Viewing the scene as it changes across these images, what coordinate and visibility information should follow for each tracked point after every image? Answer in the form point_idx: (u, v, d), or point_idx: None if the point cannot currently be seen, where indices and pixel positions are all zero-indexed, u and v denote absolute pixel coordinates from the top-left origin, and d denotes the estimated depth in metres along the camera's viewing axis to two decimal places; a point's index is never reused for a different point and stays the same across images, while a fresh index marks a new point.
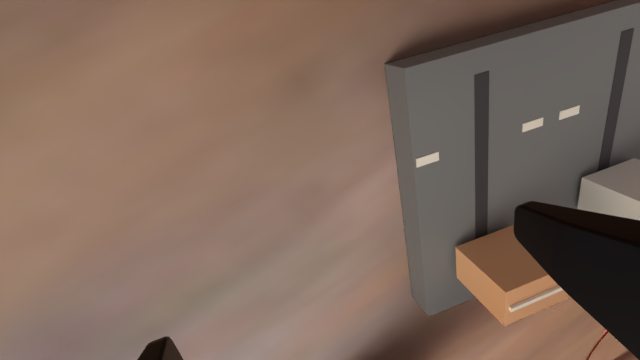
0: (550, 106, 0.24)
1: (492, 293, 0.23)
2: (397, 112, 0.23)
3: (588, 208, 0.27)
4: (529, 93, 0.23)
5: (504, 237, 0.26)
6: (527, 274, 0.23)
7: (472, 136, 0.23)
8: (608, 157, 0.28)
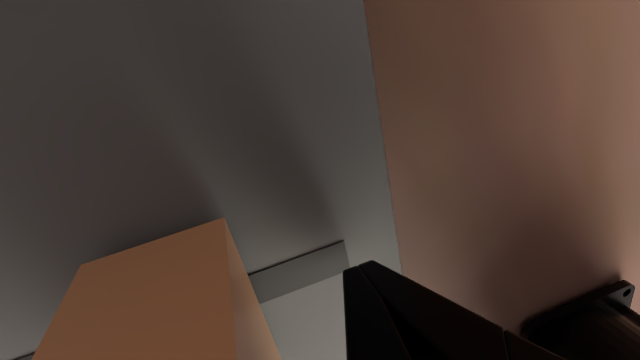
0: None
1: None
2: None
3: None
4: None
5: None
6: None
7: None
8: None
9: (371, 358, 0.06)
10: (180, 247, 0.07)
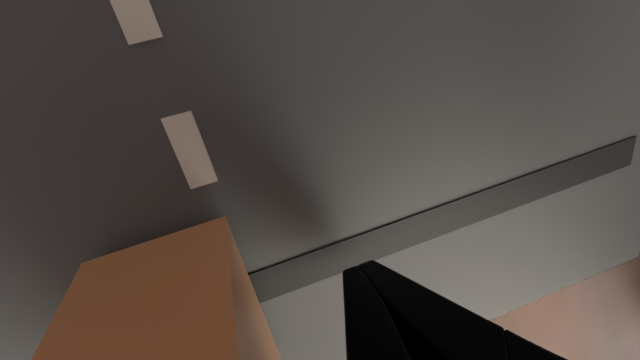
0: (117, 100, 0.07)
1: None
2: None
3: None
4: (89, 201, 0.07)
5: None
6: None
7: None
8: None
9: (371, 358, 0.06)
10: (181, 246, 0.07)
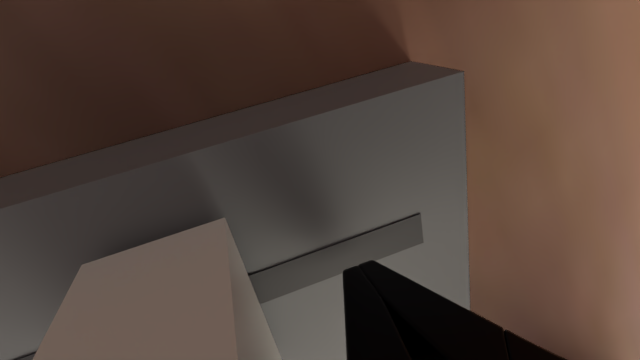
0: None
1: None
2: None
3: None
4: None
5: None
6: None
7: None
8: None
9: (371, 358, 0.06)
10: None
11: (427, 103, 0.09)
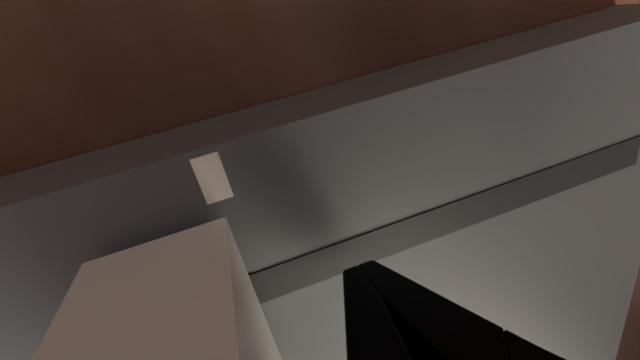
0: None
1: None
2: None
3: None
4: None
5: None
6: None
7: None
8: (422, 218, 0.10)
9: (371, 358, 0.06)
10: None
11: None
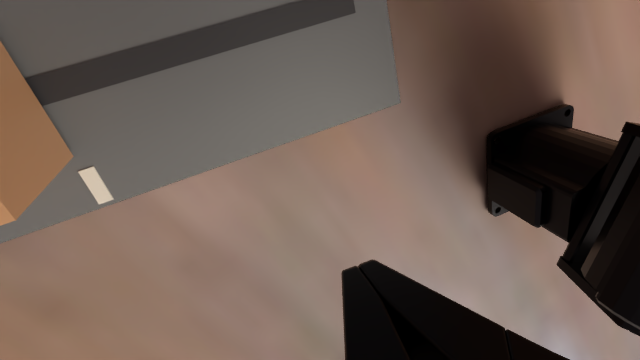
0: None
1: None
2: None
3: None
4: None
5: None
6: None
7: None
8: None
9: (369, 358, 0.06)
10: None
11: None
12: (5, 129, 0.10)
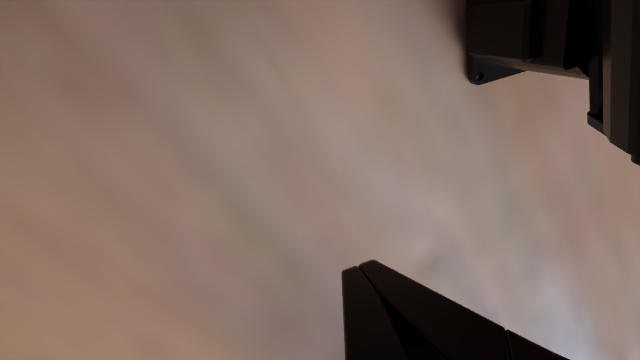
0: None
1: None
2: None
3: None
4: None
5: None
6: None
7: None
8: None
9: (369, 358, 0.06)
10: None
11: None
12: None
